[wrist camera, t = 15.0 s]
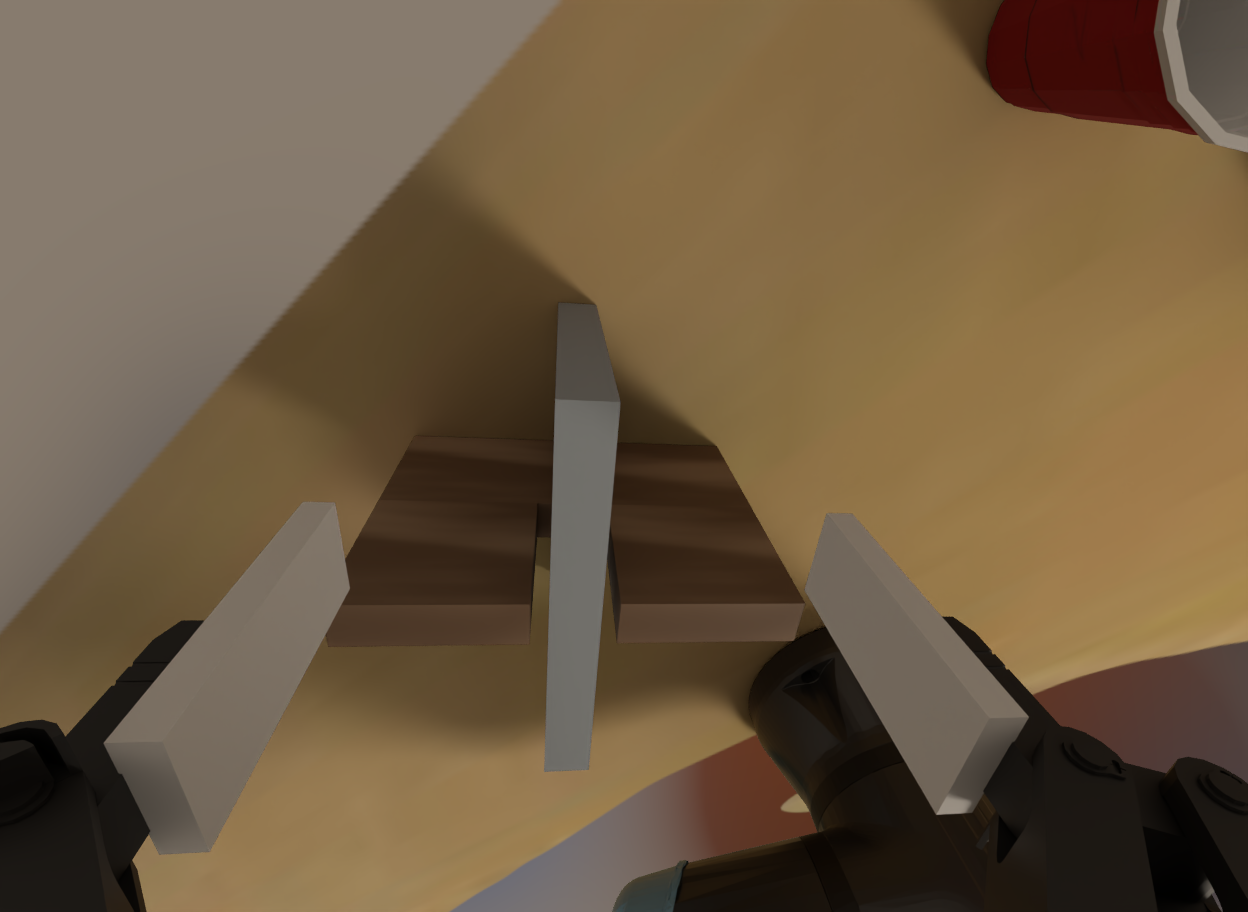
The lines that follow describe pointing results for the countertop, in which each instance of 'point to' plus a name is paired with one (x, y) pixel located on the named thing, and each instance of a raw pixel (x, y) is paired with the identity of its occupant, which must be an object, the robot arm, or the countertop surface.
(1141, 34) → the plastic cup
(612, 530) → the walnut board
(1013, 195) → the countertop surface
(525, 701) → the countertop surface
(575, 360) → the notched grey panel
